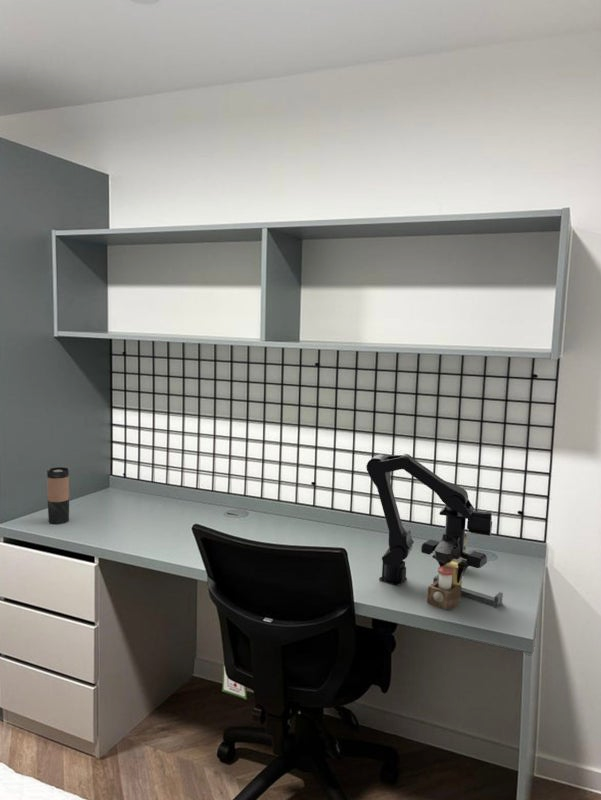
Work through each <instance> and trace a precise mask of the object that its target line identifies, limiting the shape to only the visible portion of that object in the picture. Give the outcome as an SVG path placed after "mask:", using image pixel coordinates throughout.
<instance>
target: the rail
mask: <svg viewBox="0 0 601 800" xmlns="http://www.w3.org/2000/svg"><path fill="white" fill-rule="evenodd" d="M432 579H433V582H432V583H434V582H435V581H437V580H438V579H439V573H438V574H437V575H435V576H434V577H433V578H432ZM461 597H464V598H467V599H470V600H473V601H476V600H477V601H478V602H480V603H483V604H486V605H489V606H493V608H499V607H500V606H501V605H503V597H504V593H503V592H500V591H499V592H498V593H497V594H495V596H492V595H488V594H485V593H482V592H478V591H476V590H475V591H474V590H472V589H469V588H466V587H462V586H461Z"/></svg>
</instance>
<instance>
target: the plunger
mask: <svg viewBox="0 0 601 800" xmlns="http://www.w3.org/2000/svg"><path fill="white" fill-rule="evenodd" d="M437 573H438V574H439V585H438V588H440V589H443V590H446V591H450V590H451V584H452V575H453V574H454V569H452V568H450V567H446V566H442V567H440V566H439V567H437Z"/></svg>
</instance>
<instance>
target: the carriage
mask: <svg viewBox="0 0 601 800" xmlns="http://www.w3.org/2000/svg"><path fill="white" fill-rule="evenodd" d="M444 566H446V567H450V568H452V569H454V574H453V575H452V583H454V584H457V585H461V587H462V584H463V578H462V579H461V581H460V582H459V583H457V575H458V563H456V562H453V561H451V562H450V563H447V564H445V565H444Z"/></svg>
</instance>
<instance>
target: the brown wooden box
mask: <svg viewBox="0 0 601 800" xmlns="http://www.w3.org/2000/svg"><path fill="white" fill-rule="evenodd" d="M438 585H439V579H438V580H437V581H435V582H434V583H433V582H432V583H431V584H430V585H428V586H427V598H426V603H427V604H428V605H432V606H435V607H438V608H440V609H443V610H447V611H449V612H450V611H451V610H452V609H454V608H455V607H456V606H458V605H459V604H460V603H461V599H462V596H461V587H462V586H461V585H457V584H454V583H452V584H451V590H450V591H446V590H443V589H440V588H438Z"/></svg>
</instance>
